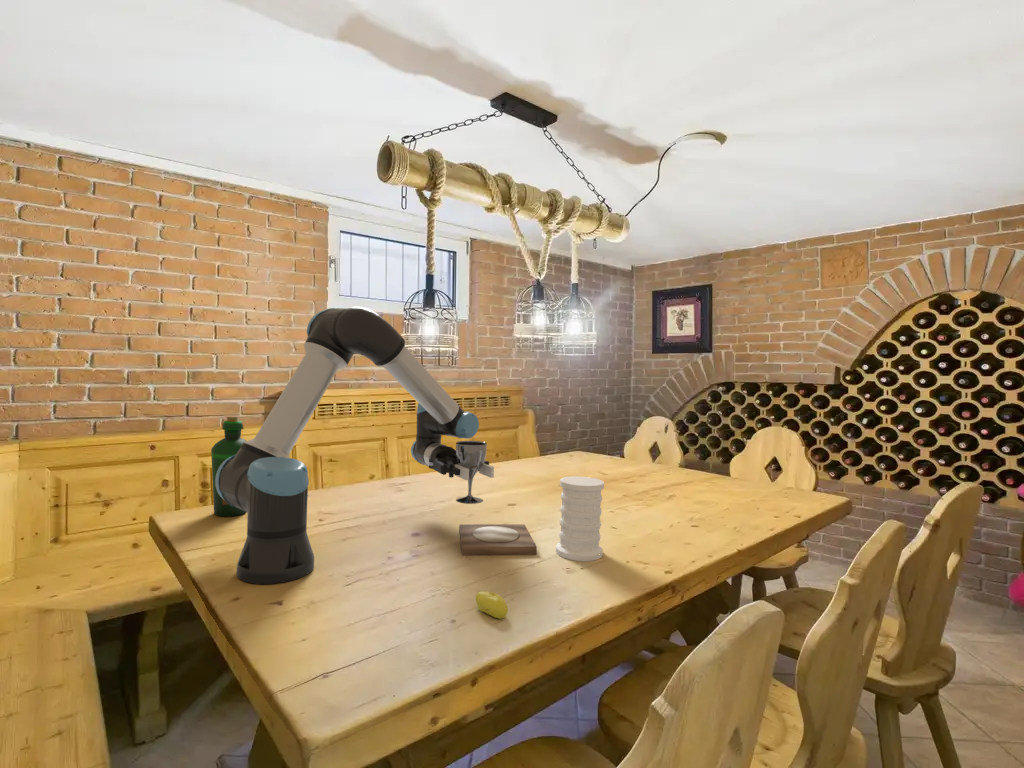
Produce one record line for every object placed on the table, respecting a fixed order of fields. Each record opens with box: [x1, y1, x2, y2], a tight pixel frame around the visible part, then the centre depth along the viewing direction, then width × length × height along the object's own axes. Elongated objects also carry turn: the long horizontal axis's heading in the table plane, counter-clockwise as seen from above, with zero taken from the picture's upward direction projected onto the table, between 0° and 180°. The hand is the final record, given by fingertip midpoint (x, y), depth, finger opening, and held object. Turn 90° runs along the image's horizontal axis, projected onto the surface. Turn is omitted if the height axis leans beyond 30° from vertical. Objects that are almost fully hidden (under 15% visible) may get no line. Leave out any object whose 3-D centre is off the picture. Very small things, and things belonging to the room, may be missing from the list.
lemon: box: [475, 590, 509, 620], centre depth 99 cm, size 4×8×4 cm, turn 38°
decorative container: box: [555, 475, 605, 562], centre depth 133 cm, size 12×12×18 cm
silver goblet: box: [455, 440, 488, 505], centre depth 139 cm, size 8×8×15 cm
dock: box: [458, 523, 537, 556], centre depth 138 cm, size 18×18×2 cm
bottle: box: [210, 415, 247, 517], centre depth 154 cm, size 11×11×28 cm
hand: (480, 473), depth 134 cm, fingers closed on silver goblet, 6 cm apart
